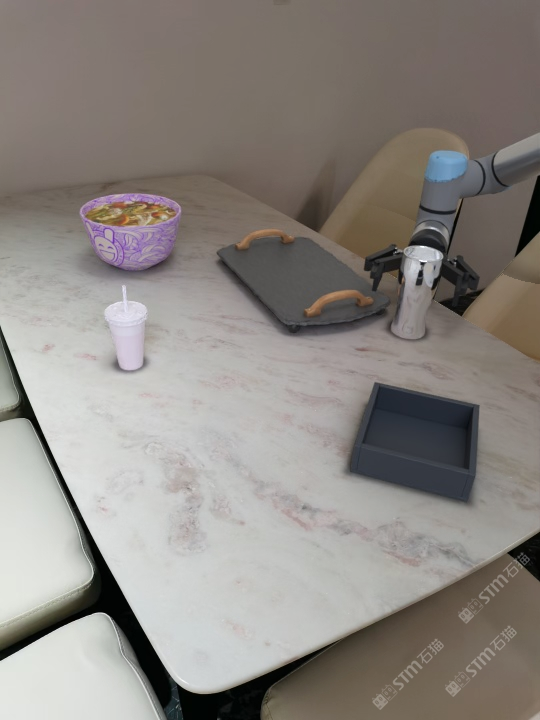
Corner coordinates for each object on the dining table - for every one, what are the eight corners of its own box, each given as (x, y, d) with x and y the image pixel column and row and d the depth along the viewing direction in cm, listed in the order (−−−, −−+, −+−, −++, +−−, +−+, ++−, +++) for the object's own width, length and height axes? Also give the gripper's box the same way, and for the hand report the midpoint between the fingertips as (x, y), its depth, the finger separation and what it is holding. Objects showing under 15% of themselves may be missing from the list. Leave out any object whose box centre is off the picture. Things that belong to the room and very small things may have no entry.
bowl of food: (88, 287, 115) (81, 230, 109) (84, 247, 131) (77, 195, 125) (191, 279, 120) (189, 224, 114) (175, 241, 136) (173, 191, 130)
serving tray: (209, 257, 130) (208, 230, 126) (302, 243, 139) (304, 217, 135) (291, 345, 101) (293, 313, 98) (401, 321, 110) (407, 291, 107)
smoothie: (113, 378, 91) (103, 297, 83) (107, 356, 96) (97, 277, 88) (155, 371, 93) (149, 291, 85) (147, 350, 98) (141, 272, 90)
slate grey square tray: (471, 430, 85) (479, 404, 82) (466, 502, 73) (475, 475, 70) (370, 406, 88) (374, 381, 85) (349, 472, 76) (354, 445, 74)
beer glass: (394, 317, 111) (408, 241, 103) (431, 327, 109) (448, 250, 100) (383, 334, 106) (397, 255, 97) (421, 344, 103) (439, 265, 95)
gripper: (488, 275, 117) (485, 325, 100) (363, 253, 123) (340, 297, 106) (498, 238, 113) (497, 285, 96) (368, 218, 118) (345, 258, 102)
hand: (414, 291), depth 101 cm, fingers open, 13 cm apart
